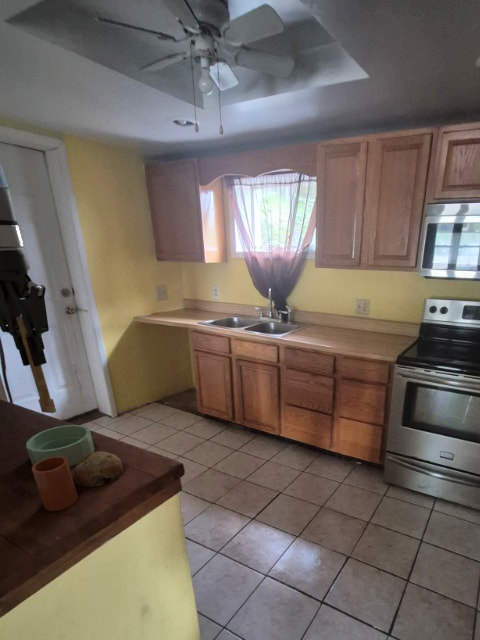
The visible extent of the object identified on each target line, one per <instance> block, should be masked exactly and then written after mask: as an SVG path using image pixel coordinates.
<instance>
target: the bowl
mask: <svg viewBox="0 0 480 640" xmlns="http://www.w3.org/2000/svg"><path fill="white" fill-rule="evenodd" d="M25 446H26V450H27V454H28V456H29V459H30V463H31V466H33V465H34V464H36V463H37V462H39V461H41V460H43V459H46V458H50V457H55V456H62V457H65V458H66V459H67V461H68V464H69V468H70V467H73V466H77V465H78V464H79V463H80V462H81V460H82V459H83V458H84V457H85V456H86V455H88V454H90V453H93V452H95V445H94V441H93V438H92V434H91V430H90V428H89V427H87V426H84V425H81V424H68V425H67V424H66V425H59V426H55V427H51V428H48V429H45V430H43V431H39V432H38V433H36V434H34V435H33V436H31V437H30V438H29V439H28V440H27V441H26V443H25Z"/></svg>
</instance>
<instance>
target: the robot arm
mask: <svg viewBox="0 0 480 640" xmlns="http://www.w3.org/2000/svg"><path fill="white" fill-rule="evenodd" d="M24 247H25V245H24V242H23V238H22V233H21V230H20V226H19V223H18V221H17V217H16V212H15V207H14V204H13V199H12V196H11V191H10V185H8V182H7V178H6V175H5V173H4V169H3V167H2V164H0V331H1V332H3V333H8V334H9V335H10V336H12V338H13V339H12V340H13V342H14V345H15V348H16V350H18V352H19V356H20V358H21V363H22V365H23V367H27V366H30V364H29V360H28V357H27V354H26V350H25V347H24V343H23V340H22V337H21V333H20V330H19V327H18V323H17V320H16V318H17V317H22V319H23V322H24V324H25V327H26V330H27V332H28V334H27V335H25V336H26V341H27V344H28V347H29V351H30V354H31V358H32V361H33V364H34V366H35V367H37V366H40V365H41V366H42V365H45V364H47V363H48V362H47V358H46V354H45V351H44V350H45V344H44V340H43V336H42V334H44V333H48V332H49V331H50V326H49V321H48V314H47V306H46V300H45V299H46V298H45V296H46V291H47V288H46V286H45V285H44V284H37V283H35V282H34V281H33V279H32V277H31V276H30V274H29V270H30V269H31V266H30V262H29V259H28V255H27V252H26V251H25V250H22V248H24Z"/></svg>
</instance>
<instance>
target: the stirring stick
mask: <svg viewBox="0 0 480 640" xmlns="http://www.w3.org/2000/svg"><path fill="white" fill-rule="evenodd" d="M16 320H17V323H18V327H19V330H20V333H21V337H22V340H23V343H24V347H25V350H26V354H27V357H28V360H29V364H30V365H29V367H30V370H31V373H32V376H33V380H34V384H35V387H36V390H37V391H36V392H37V393H38V397H39V399H37V400H38V404H39V407H40V410H41V413H45V414H46V413H48V414H54V413H56V412H57V409H56V405H55V401H54V399H53V398H52V397H51V394H50V391H49V388H48V385H47V380H46V377H45V373H44V370H43V366H42V365H40V366H37V367H35V366H34V364H33V361H32V358H31V354H30V351H29V347H28V344H27V341H26V336H25V335H27V334H28V332H27V330H26V327H25V324H24V322H23V319H22V316H21V317H17V318H16Z"/></svg>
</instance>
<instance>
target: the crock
mask: <svg viewBox="0 0 480 640" xmlns="http://www.w3.org/2000/svg"><path fill="white" fill-rule="evenodd" d="M71 471H72V470H71V468H70V467H69V464H68V461H67V459H66V458H65V457H62V456H55V457H50V458H46V459H43V460H41V461H39V462H37V463H36V464H34V465H32V467H31V472H32V474H33V477H34V481H35V483H36V487H37V489H38V492H39V495H40V499H41V501H42V505H43V508H44V510H46V511H49V512H57V511H58V512H59V511H62V510H65V509H67V508H69V507H71V506H72V505H74V504H75V503H76V502H77V501H78V498H79V496H78V493H77V489H76V488H77V487H76V486H75V485H76V484H75V482H74V478H73V475H72V472H71Z"/></svg>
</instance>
